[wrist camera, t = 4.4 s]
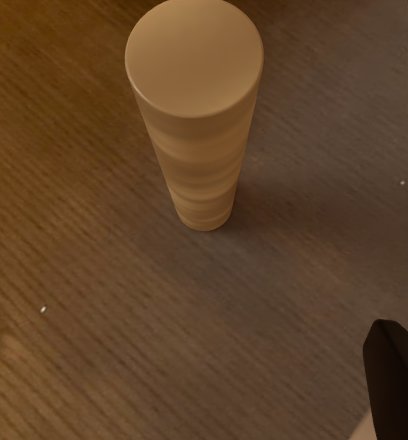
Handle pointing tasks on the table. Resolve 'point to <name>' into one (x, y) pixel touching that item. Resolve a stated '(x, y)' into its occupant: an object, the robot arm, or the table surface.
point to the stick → (197, 99)
